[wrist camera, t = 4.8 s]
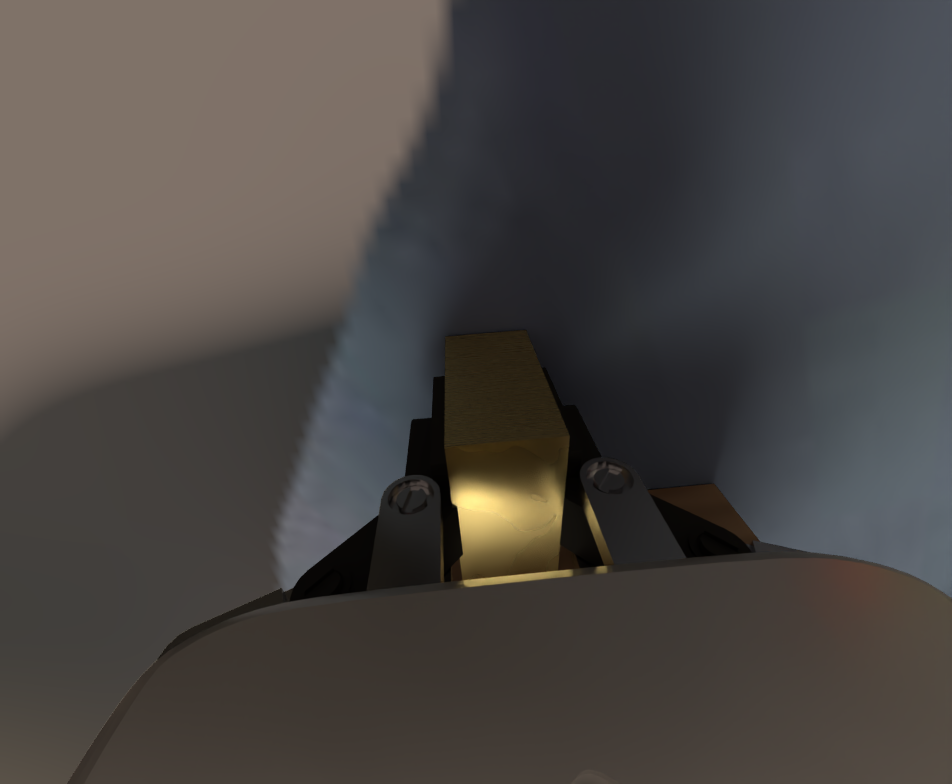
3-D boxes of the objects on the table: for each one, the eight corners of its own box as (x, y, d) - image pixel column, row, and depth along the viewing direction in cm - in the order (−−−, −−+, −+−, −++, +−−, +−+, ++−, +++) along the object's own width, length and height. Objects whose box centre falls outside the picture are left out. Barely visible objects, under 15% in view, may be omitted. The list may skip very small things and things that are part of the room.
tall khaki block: (445, 336, 12) (444, 447, 7) (525, 329, 12) (570, 435, 7) (459, 461, 14) (464, 594, 10) (524, 455, 14) (556, 585, 10)
